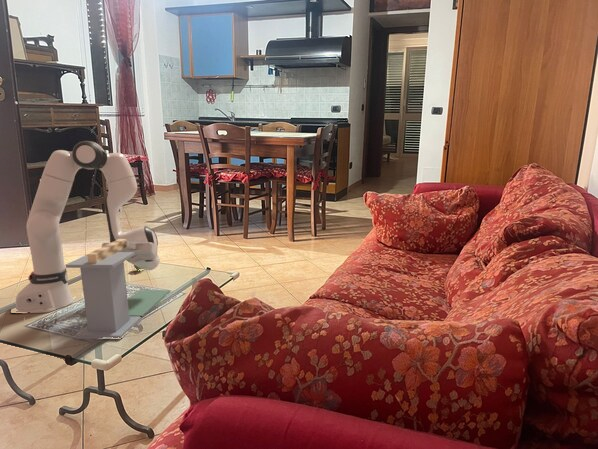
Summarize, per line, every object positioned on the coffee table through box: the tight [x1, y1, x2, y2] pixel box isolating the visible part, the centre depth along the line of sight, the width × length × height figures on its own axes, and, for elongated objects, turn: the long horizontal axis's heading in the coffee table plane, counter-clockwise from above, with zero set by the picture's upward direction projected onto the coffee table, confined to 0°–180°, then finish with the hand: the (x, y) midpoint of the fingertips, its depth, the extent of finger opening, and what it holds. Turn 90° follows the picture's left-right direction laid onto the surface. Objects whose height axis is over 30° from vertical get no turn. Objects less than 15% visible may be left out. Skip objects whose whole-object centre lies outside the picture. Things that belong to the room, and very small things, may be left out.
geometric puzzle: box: [130, 264, 141, 272], centre depth 226 cm, size 7×7×8 cm
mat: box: [127, 289, 171, 317], centre depth 181 cm, size 28×14×1 cm, turn 175°
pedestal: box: [65, 252, 143, 340], centre depth 155 cm, size 16×16×26 cm
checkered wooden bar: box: [86, 239, 127, 263], centre depth 157 cm, size 22×3×3 cm, turn 175°
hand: (119, 243), depth 165 cm, fingers closed on checkered wooden bar, 3 cm apart
